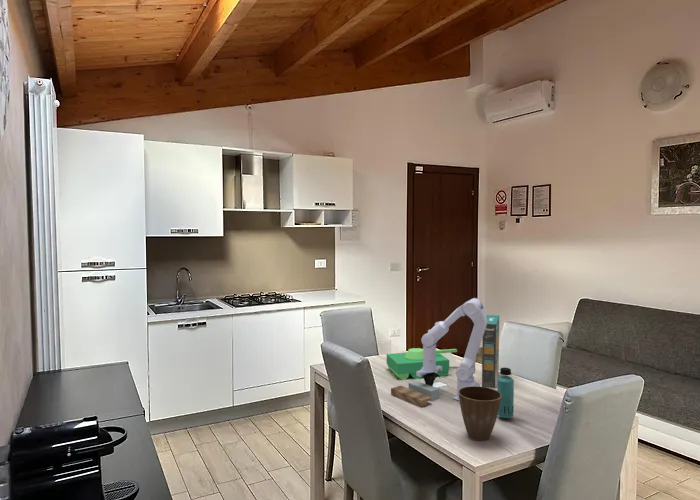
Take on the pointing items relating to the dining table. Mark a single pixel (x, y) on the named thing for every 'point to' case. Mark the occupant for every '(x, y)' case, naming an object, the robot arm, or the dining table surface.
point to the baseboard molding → (451, 360)
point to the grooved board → (411, 396)
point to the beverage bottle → (506, 393)
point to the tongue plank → (425, 389)
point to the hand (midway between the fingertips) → (429, 388)
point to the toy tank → (415, 362)
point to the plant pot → (479, 410)
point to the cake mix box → (490, 352)
